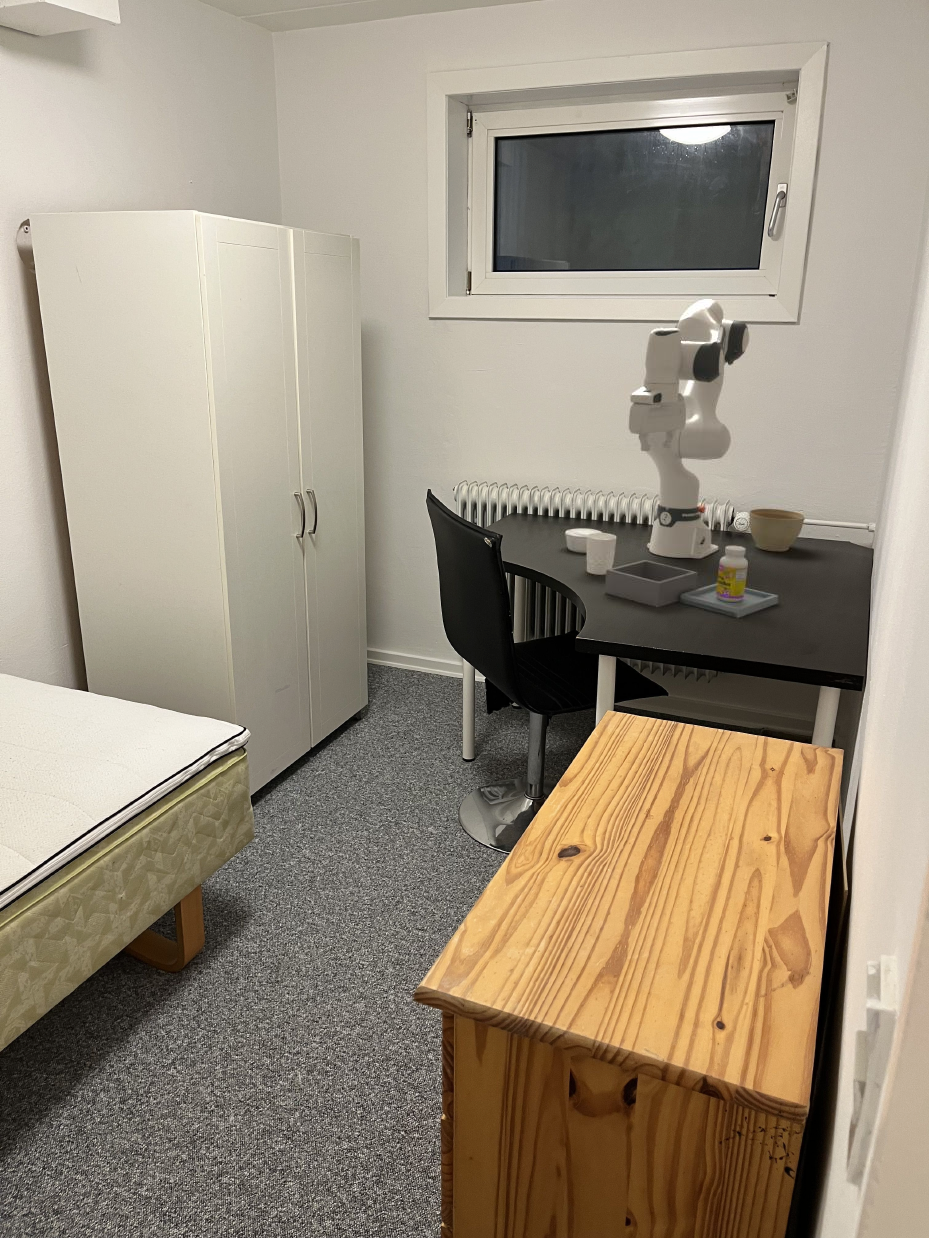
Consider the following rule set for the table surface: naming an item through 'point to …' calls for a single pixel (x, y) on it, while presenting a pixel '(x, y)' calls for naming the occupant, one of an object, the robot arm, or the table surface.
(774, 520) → the planter bowl
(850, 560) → the table surface
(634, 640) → the table surface
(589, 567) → the white cup
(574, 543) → the ramekin
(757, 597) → the tray
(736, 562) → the supplement bottle
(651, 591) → the deep holder
